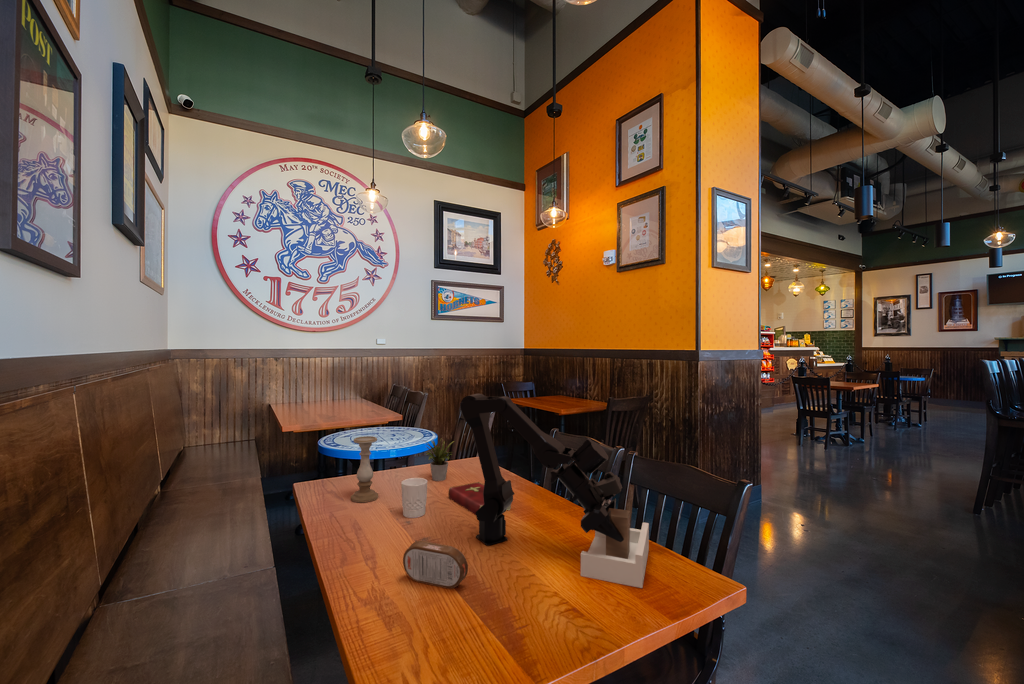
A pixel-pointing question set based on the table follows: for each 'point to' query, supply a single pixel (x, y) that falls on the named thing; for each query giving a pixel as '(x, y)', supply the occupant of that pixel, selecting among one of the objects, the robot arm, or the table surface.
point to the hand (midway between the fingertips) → (623, 536)
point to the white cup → (414, 497)
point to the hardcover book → (469, 496)
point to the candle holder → (364, 472)
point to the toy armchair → (618, 559)
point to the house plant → (439, 461)
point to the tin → (435, 564)
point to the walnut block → (623, 525)
